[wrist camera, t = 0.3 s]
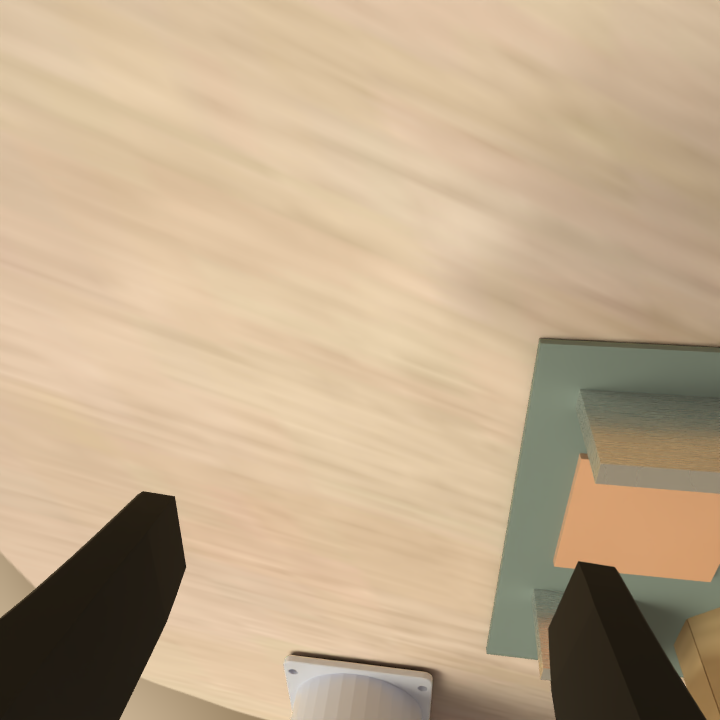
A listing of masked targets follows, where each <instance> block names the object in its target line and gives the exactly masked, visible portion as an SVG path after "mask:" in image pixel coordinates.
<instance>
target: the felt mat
mask: <svg viewBox="0 0 720 720" xmlns="http://www.w3.org/2000/svg"><path fill="white" fill-rule="evenodd" d="M580 389H583V390H599V391H616V392H632V393H649V394H665V395H682V396H698V397H715V398H720V347H700V346H680V345H660V344H640V343H620V342H600V341H580V340H560V339H540V338H539V344H538V350H537V356H536V362H535V367H534V373H533V379H532V385H531V391H530V397H529V402H528V408H527V414H526V420H525V426H524V432H523V437H522V443H521V449H520V455H519V461H518V467H517V472H516V478H515V484H514V490H513V496H512V502H511V507H510V513H509V519H508V525H507V531H506V537H505V542H504V548H503V554H502V560H501V566H500V572H499V577H498V583H497V589H496V595H495V601H494V607H493V612H492V618H491V624H490V630H489V636H488V642H487V647H486V650H487V654H492V655H501V656H509V657H517V658H526V659H534V660H538V654H537V645H536V636H535V628H534V619H533V610H532V602H531V599H532V595H533V590H534V589H542V590H551V591H561V592H565V589H566V587H567V585H568V583H569V581H570V578H571V576H572V574H573V572H574V569H573V568H562V567H554V563H553V559H554V555H555V551H556V547H557V543H558V539H559V535H560V531H561V527H562V523H563V519H564V515H565V511H566V507H567V503H568V499H569V495H570V491H571V487H572V482H573V478H574V474H575V470H576V466H577V462H578V458H579V454H580V453H584V454H587V450H586V447H585V443H584V439H583V435H582V432H581V428H580V424H579V420H578V416H577V413H576V409H575V408H576V403H577V399H578V395H579V390H580ZM619 574H620V575H621V577H622V579H623V581H624V582H625V584H626V586H627V588H628V590H629V591H630V593H631V595H632V597H633V598H634V600H635V602H636V604H637V605H638V607H639V609H640V611H641V612H642V614H643V616H644V618H645V619H646V621H647V623H648V625H649V626H650V628H651V630H652V631H653V633H654V635H655V637H656V638H657V640H658V642H659V643H660V645H661V647H662V648H663V650H664V652H665V653H666V655H667V657H668V658H669V660H670V662H671V663H672V665H673V667H674V668H675V670H676V672H677V673H678V675H679V676H680V677H683V674H682V670H681V667H680V664H679V661H678V658H677V655H676V651H675V648H674V643H675V641H676V639H677V637H678V635H679V633H680V631H681V629H682V627H683V625H684V623H685V621H686V619H688V618H690V617H693V616H696V615H699V614H702V613H705V612H708V611H711V610H714V609H716V608H719V607H720V564H719V566H718V568H717V570H716V572H715V574H714V576H713V578H712V580H711V582H703V581H693V580H683V579H673V578H663V577H653V576H643V575H633V574H623V573H619ZM683 678H684V677H683Z"/></svg>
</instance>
